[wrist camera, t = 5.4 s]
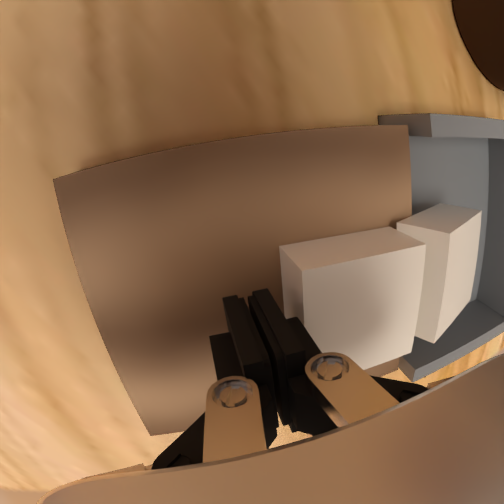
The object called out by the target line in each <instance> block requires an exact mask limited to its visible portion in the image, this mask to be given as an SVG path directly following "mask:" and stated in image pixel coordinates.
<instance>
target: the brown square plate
mask: <svg viewBox="0 0 504 504" xmlns="http://www.w3.org/2000/svg"><path fill="white" fill-rule="evenodd" d="M53 182H54V187H55V191H56V196H57V200H58V204H59V209H60V213H61V217H62V220H63V224H64V228H65V232H66V235H67V239H68V242H69V246H70V249H71V253H72V256H73V259H74V262H75V266H76V269H77V272H78V275H79V278H80V281H81V284H82V287H83V290H84V292H85V295H86V298H87V301H88V303H89V306H90V309H91V311H92V314H93V317H94V319H95V322H96V324H97V327H98V329H99V332H100V334H101V337H102V339H103V341H104V344H105V346H106V348H107V351H108V353H109V355H110V357H111V360H112V362H113V364H114V366H115V368H116V370H117V373H118V375H119V377H120V379H121V381H122V383H123V385H124V387H125V389H126V391H127V393H128V395H129V397H130V399H131V401H132V403H133V405H134V407H135V409H136V410H137V412H138V414H139V416H140V418H141V420H142V421H143V423H144V425H145V427H146V429H147V430H148V432H149V434H150V436H153V435H161V434H168V433H175V432H182V431H186V430H187V429H188V428H189V427H190V426H191V425H192V424H193V423H194V422H195V421H196V420H197V419H198V418H199V417H200V416H201V415H202V414H203V413H204V412H205V409H206V395H207V391H208V389H209V388H210V387H211V385H212V384H214V383H215V382H216V381H217V376H216V371H215V366H214V361H213V355H212V350H211V345H210V339H209V336H211V335H216V334H221V333H226V332H229V331H228V326H227V321H226V316H225V311H224V306H223V300H222V298H223V297H228V296H232V295H237V296H238V298H242V297H244V299H245V302H246V304H247V306H248V309H249V304H248V296H251V295H252V291H256V290H261V289H266V288H268V290H269V291H270V293H271V295H272V296H273V298H274V300H275V301H276V303H277V305H278V306H279V308H280V310H281V311H282V313H283V314H284V301H283V288H282V276H281V263H280V252H279V246H281V245H287V244H293V243H299V242H304V241H310V240H316V239H321V238H327V237H333V236H338V235H344V234H350V233H355V232H361V231H367V230H373V229H378V228H384V227H392V228H394V229H396V230H397V222H399V221H401V220H403V219H406V218H408V217H410V216H412V192H411V163H410V147H409V134H408V125H371V126H348V127H332V128H318V129H306V130H295V131H286V132H277V133H268V134H260V135H252V136H245V137H238V138H231V139H224V140H218V141H212V142H206V143H200V144H195V145H189V146H184V147H179V148H174V149H169V150H164V151H159V152H154V153H150V154H145V155H141V156H136V157H132V158H128V159H124V160H120V161H116V162H112V163H108V164H104V165H100V166H96V167H93V168H89V169H85V170H82V171H78V172H75V173H72V174H68V175H65V176H62V177H59V178H56V179H53ZM284 316H285V315H284ZM399 359H400V357H398V358H395V359H393V360H390V361H388V362H385V363H382V364H379V365H377V366H374V367H371V368H368V369H365V370H364V371H365V372H366V373H367V374H368V375H370V376H376V377H381V376H383V375H386V374H388V373H391V372H393V371H395V370H398V365H399Z"/></svg>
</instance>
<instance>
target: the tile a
mask: <svg viewBox="0 0 504 504" xmlns="http://www.w3.org/2000/svg"><path fill="white" fill-rule="evenodd" d="M279 252H280V263H281V276H282V288H283V301H284V315H285V318H286V319H288V318H292V317H298V318H299V320H300V321H301V323H302V324H303V325H304V327H305V328H306V330H307V331H308V333H309V334H310V336H311V337H312V339H313V340H314V342H315V343H316V345H317V346H318V348H319V349H320V351H321V352H322V353H325V352H337V353H341V354H344V355H346V356H348V357H349V358H351V359H352V360H353V361H354V362H355V363H356V364H357V365H358V366H359V367H361V368H362V369H363V370H365V369H368V368H371V367H374V366H377V365H379V364H382V363H385V362H388V361H390V360H393V359H395V358H398V357H401V356H403V355H406V354H408V353H411V351H412V346H413V341H414V335H415V330H416V324H417V318H418V311H419V305H420V298H421V290H422V282H423V273H424V264H425V253H426V244H425V243H423V242H421V241H419V240H417V239H415V238H413V237H411V236H408V235H406V234H404V233H402V232H400V231H398V230H396V229H394V228H392V227H384V228H378V229H373V230H367V231H361V232H355V233H350V234H344V235H338V236H333V237H327V238H321V239H316V240H310V241H304V242H299V243H293V244H287V245H281V246H279Z"/></svg>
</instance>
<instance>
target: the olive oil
mask: <svg viewBox="0 0 504 504" xmlns="http://www.w3.org/2000/svg"><path fill="white" fill-rule="evenodd" d="M453 7H454V12H455V17H456V20H457V24H458V27H459V30H460V33H461V35H462V38H463V40H464V42H465V44H466V46H467V48H468V50H469V52H470V54H471V56H472V58H473V59H474V61H475V63H476V64H477V66H478V67H479V69H480V70H481V71H482V73H483V74H484V75H485V76H486V77H487V79H488V80H489V81H490V82H491V83H492V84H494V85H495V86H496V87H498V88H499V89H501V90H504V0H453Z"/></svg>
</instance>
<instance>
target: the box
mask: <svg viewBox="0 0 504 504" xmlns="http://www.w3.org/2000/svg"><path fill="white" fill-rule="evenodd" d="M378 121H379V125H408V134H409V147H410V163H411V192H412V216H413V215H415V214H417V213H419V212H422V211H424V210H426V209H428V208H431V207H433V206H435V205H437V204H440V203H443V204H448V205H454V206H460V207H465V208H471V209H476V210H481V211H482V214H481V227H480V237H479V247H478V255H477V262H476V269H475V276H474V282H473V287H472V293H471V298H470V301H469V302H468V303H467V305H466V306H465V307H464V308H463V310H462V311H461V312H460V313H459V315H458V316H457V317H456V318H455V320H454V321H453V322H452V323H451V324H450V326H449V327H448V328H447V329H446V330H445V332H444V333H443V334H442V335H441V336H440V337H439V338H438V340H437V341H436V342H435V343H434V344H433V343H431V342H428V341H426V340H424V339H421V338H419V337H416V336H414V341H413V346H412V351H411V353H408V354H406V355H403V356H401V357H400V359H399V365H398V367H399V368H400V369H401V371H402V372H403V373H404V374H405V375H406V376H407V377H408V378H409V379H410V380H411V382H415V381H417V380H419V379H421V378H423V377H425V376H427V375H429V374H431V373H433V372H435V371H437V370H439V369H441V368H443V367H444V366H446V365H448V364H450V363H452V362H454V361H456V360H457V359H459V358H461V357H463V356H465V355H466V354H468V353H470V352H472V351H473V350H475V349H477V348H478V347H480V346H482V345H483V344H485V343H487V342H488V341H490V340H491V339H493V338H495V337H496V336H498V335H499V334H501V333H502V332H504V120H498V119H490V118H482V117H472V116H461V115H448V114H431V113H428V114H399V115H381V116H378Z"/></svg>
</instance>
